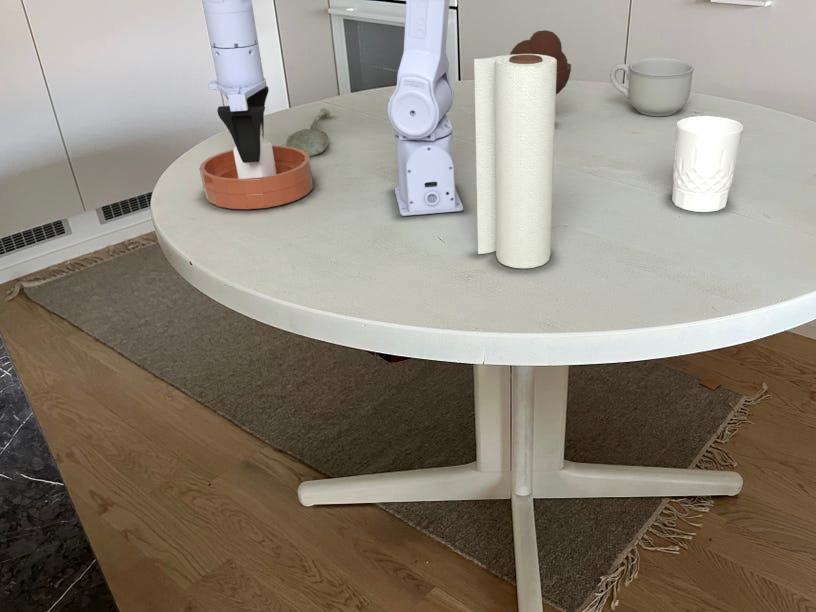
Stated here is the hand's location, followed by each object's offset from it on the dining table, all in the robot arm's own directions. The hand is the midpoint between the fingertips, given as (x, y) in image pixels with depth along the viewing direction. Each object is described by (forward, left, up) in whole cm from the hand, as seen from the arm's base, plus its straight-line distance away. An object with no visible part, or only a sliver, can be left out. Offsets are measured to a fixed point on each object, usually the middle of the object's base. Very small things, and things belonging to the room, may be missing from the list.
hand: (253, 152), depth 105 cm
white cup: (-17, -56, -6) cm, 59 cm away
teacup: (+26, -65, -6) cm, 70 cm away
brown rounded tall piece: (+22, -44, -6) cm, 50 cm away
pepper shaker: (0, 0, -5) cm, 5 cm away
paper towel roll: (-28, -30, -6) cm, 41 cm away
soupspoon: (+25, -8, -6) cm, 27 cm away
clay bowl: (0, 0, -6) cm, 6 cm away
